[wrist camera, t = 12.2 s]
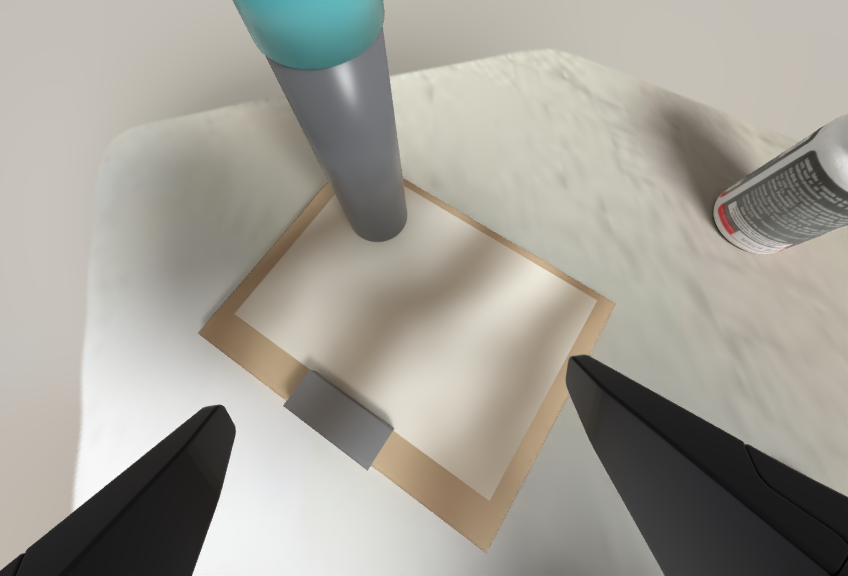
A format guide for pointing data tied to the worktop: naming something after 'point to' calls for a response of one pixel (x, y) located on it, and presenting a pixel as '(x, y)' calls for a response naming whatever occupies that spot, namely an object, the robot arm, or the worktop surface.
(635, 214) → the worktop surface
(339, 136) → the ball
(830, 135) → the pill bottle
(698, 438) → the robot arm
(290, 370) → the clipboard
